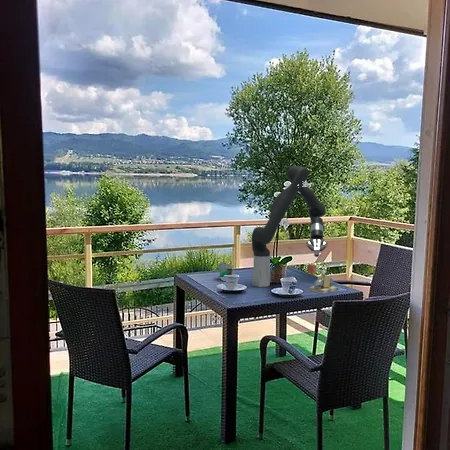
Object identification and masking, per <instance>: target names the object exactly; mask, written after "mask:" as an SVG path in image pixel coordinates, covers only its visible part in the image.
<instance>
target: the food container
mask: <svg viewBox="0 0 450 450" xmlns="http://www.w3.org/2000/svg"><path fill="white" fill-rule="evenodd" d="M217 267H218V269H219V278H220V277H223V276H224V275H232V274H233V265H232V264H229V263H226V261H221V262H219V263H218V266H217Z"/></svg>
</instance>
